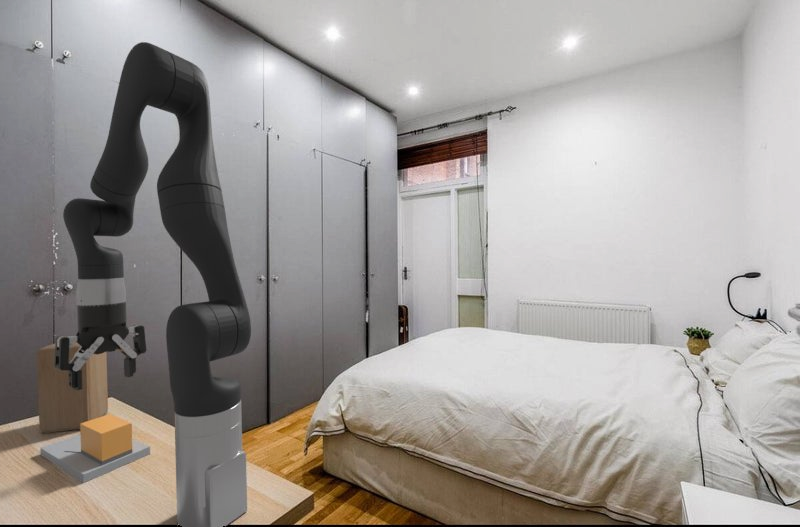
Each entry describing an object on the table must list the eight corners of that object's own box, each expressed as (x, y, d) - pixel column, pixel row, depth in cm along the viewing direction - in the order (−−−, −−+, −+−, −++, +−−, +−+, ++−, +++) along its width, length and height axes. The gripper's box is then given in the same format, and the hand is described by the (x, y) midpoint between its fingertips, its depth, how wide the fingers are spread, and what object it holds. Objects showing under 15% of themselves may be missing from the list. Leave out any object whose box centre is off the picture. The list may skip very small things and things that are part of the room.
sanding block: (132, 452, 73) (131, 423, 73) (102, 465, 69) (101, 433, 68) (110, 442, 77) (109, 414, 77) (81, 453, 73) (80, 423, 73)
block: (37, 435, 84) (34, 349, 84) (64, 417, 94) (61, 339, 93) (89, 429, 87) (86, 345, 86) (110, 412, 96) (107, 336, 96)
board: (150, 453, 75) (150, 446, 75) (83, 482, 66) (83, 474, 66) (104, 432, 85) (103, 425, 85) (40, 454, 76) (40, 447, 76)
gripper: (63, 306, 64) (66, 398, 65) (151, 298, 77) (153, 375, 77) (46, 304, 68) (49, 391, 68) (133, 296, 80) (135, 370, 81)
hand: (104, 382), depth 73 cm, fingers open, 8 cm apart
